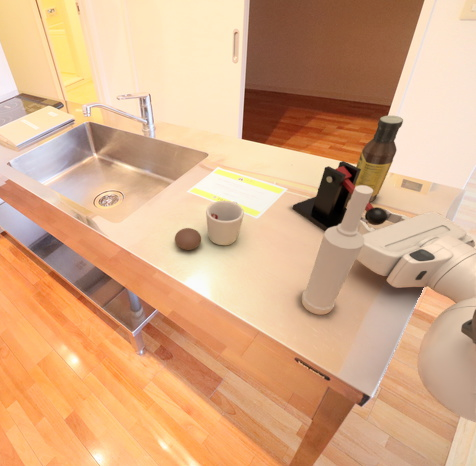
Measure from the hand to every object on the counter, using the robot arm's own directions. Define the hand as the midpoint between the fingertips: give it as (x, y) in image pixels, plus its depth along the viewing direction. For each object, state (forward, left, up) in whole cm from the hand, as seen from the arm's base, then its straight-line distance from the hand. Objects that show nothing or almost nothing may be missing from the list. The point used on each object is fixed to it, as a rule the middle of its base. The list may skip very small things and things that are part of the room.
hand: (368, 216), depth 65 cm
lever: (+4, -3, +1) cm, 5 cm away
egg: (+29, +22, -6) cm, 37 cm away
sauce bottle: (+4, -17, -6) cm, 18 cm away
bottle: (+1, +22, -6) cm, 23 cm away
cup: (+24, +14, -6) cm, 28 cm away
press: (+8, -5, -6) cm, 11 cm away
